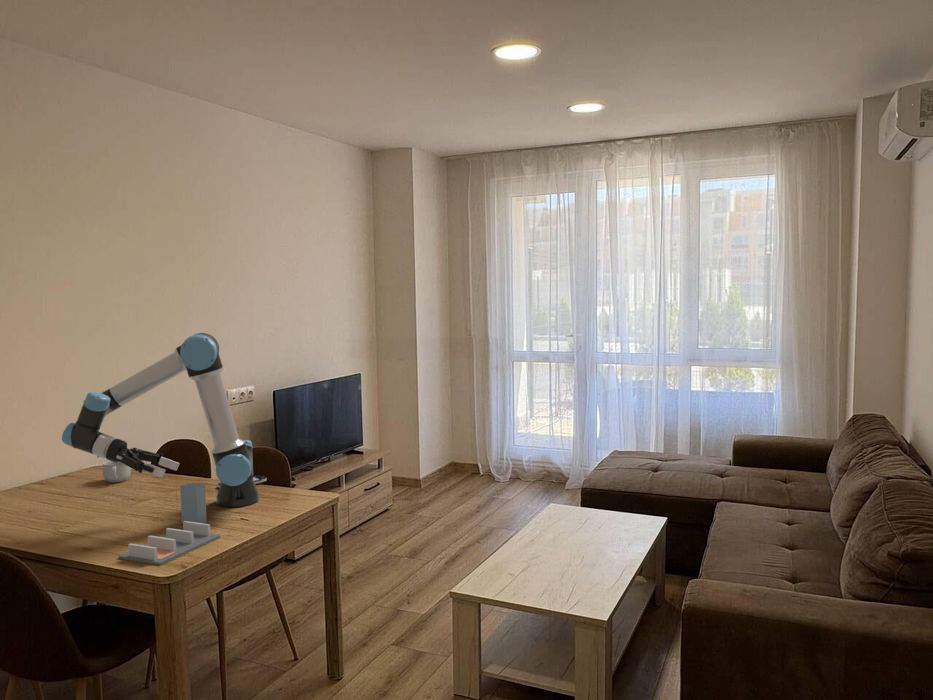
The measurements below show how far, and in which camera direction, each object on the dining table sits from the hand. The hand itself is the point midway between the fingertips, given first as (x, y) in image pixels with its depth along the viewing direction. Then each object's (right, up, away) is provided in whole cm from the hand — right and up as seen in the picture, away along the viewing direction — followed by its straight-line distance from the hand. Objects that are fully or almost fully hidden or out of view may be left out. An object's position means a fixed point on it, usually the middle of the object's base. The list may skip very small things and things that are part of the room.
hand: (171, 470), depth 247 cm
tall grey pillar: (+7, -18, +2) cm, 19 cm away
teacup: (-45, -14, +56) cm, 74 cm away
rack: (+9, -20, -22) cm, 31 cm away
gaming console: (+9, -15, +50) cm, 52 cm away
